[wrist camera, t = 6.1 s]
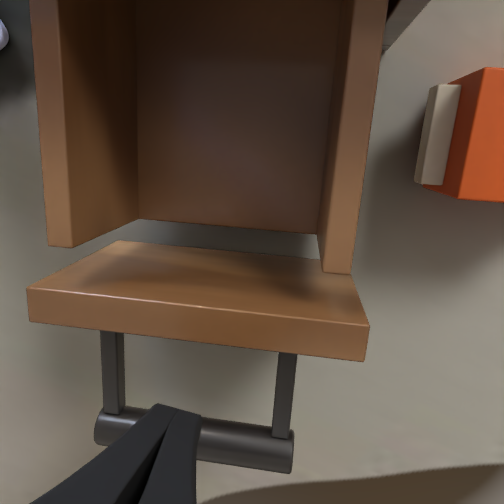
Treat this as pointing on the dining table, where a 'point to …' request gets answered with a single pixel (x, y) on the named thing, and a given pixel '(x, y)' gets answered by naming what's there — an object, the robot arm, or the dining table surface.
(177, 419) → the robot arm
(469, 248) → the dining table surface
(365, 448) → the dining table surface
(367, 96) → the drawer
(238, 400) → the dining table surface
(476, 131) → the orange block
